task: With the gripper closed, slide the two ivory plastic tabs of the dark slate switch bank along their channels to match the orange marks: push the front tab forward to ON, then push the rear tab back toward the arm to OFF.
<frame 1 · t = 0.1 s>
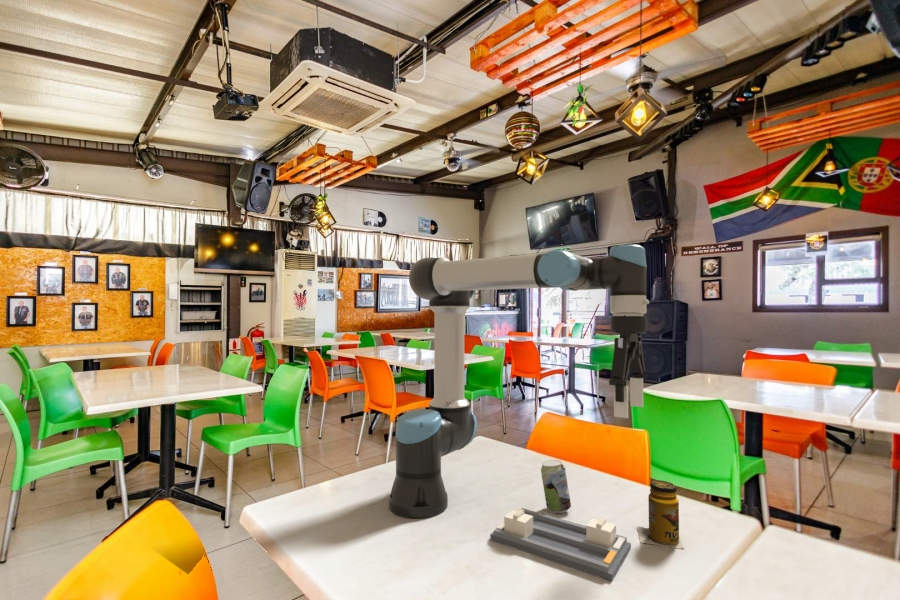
hand: (629, 411, 99), 28 cm above the table, fingers open, 13 cm apart
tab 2: (601, 531, 94), point 4 cm above the table, slide at 8.0 cm
switch bank: (559, 544, 96), on the table
tab 1: (518, 522, 98), point 4 cm above the table, slide at -8.0 cm
beverage can: (555, 510, 113), on the table
condiment: (659, 539, 99), on the table
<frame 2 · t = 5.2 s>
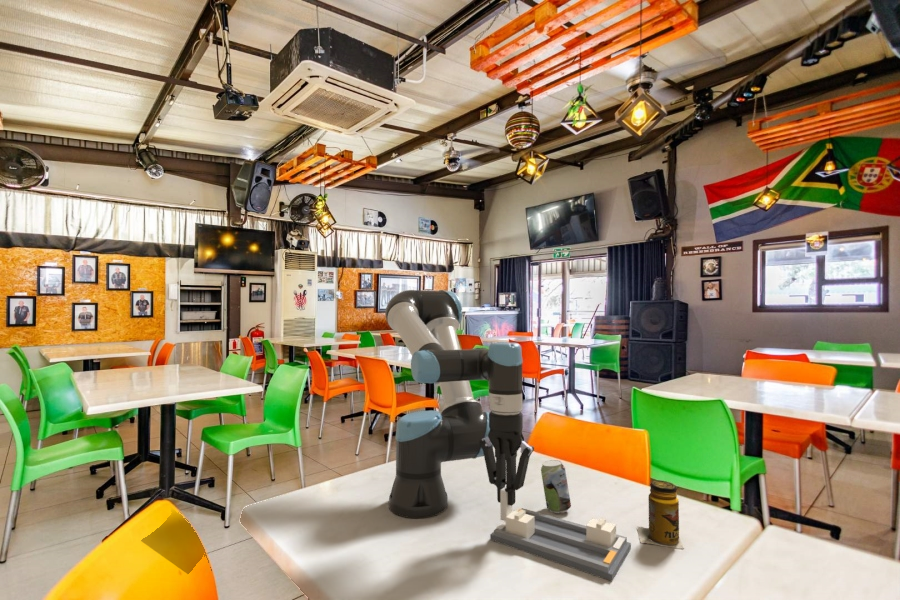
hand: (506, 518, 99), 4 cm above the table, fingers closed
tab 1: (520, 523, 98), point 4 cm above the table, slide at -7.7 cm, touching gripper
everything else where it was.
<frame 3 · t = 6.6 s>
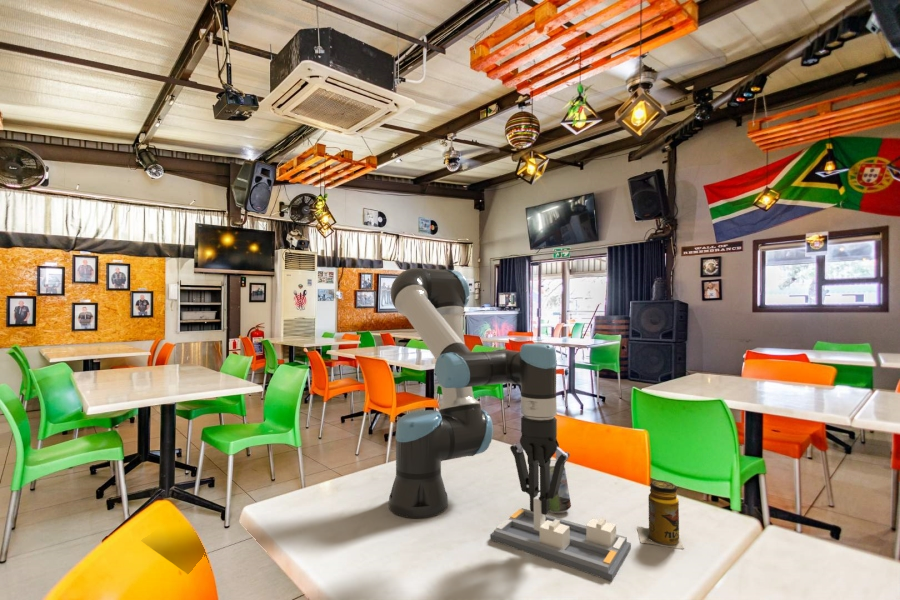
hand: (539, 527, 95), 4 cm above the table, fingers closed
tab 1: (554, 533, 93), point 4 cm above the table, slide at 0.3 cm, touching gripper
everything else where it was.
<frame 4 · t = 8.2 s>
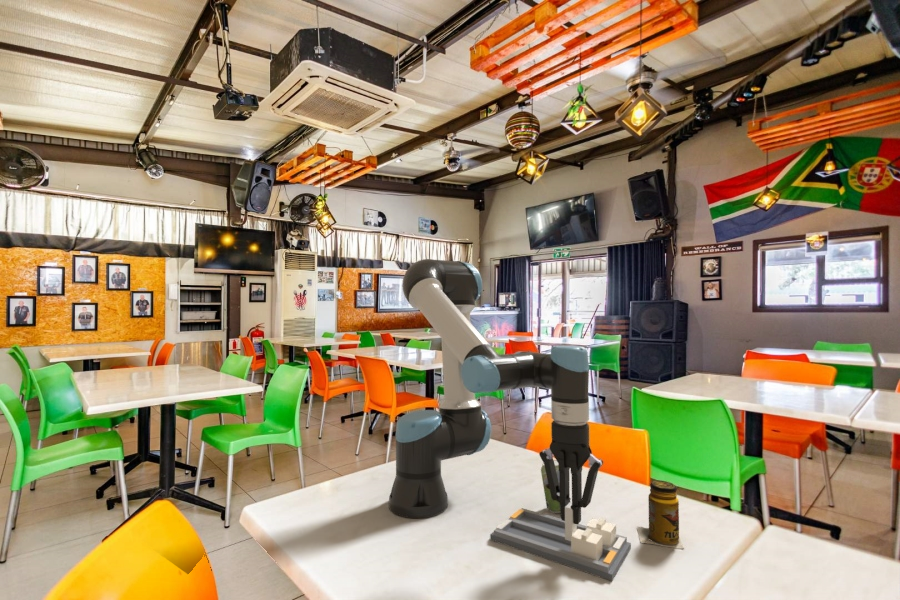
hand: (571, 537, 91), 4 cm above the table, fingers closed
tab 1: (586, 543, 89), point 4 cm above the table, slide at 7.0 cm, touching gripper
everything else where it was.
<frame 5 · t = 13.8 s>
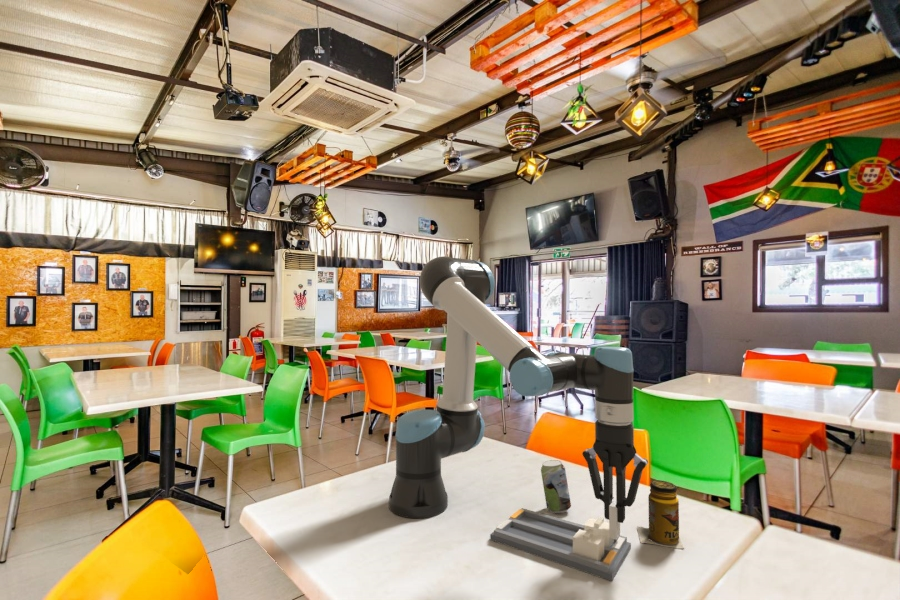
hand: (614, 535, 92), 4 cm above the table, fingers closed
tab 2: (599, 531, 94), point 4 cm above the table, slide at 7.5 cm, touching gripper
tab 1: (588, 543, 89), point 4 cm above the table, slide at 7.4 cm
everything else where it was.
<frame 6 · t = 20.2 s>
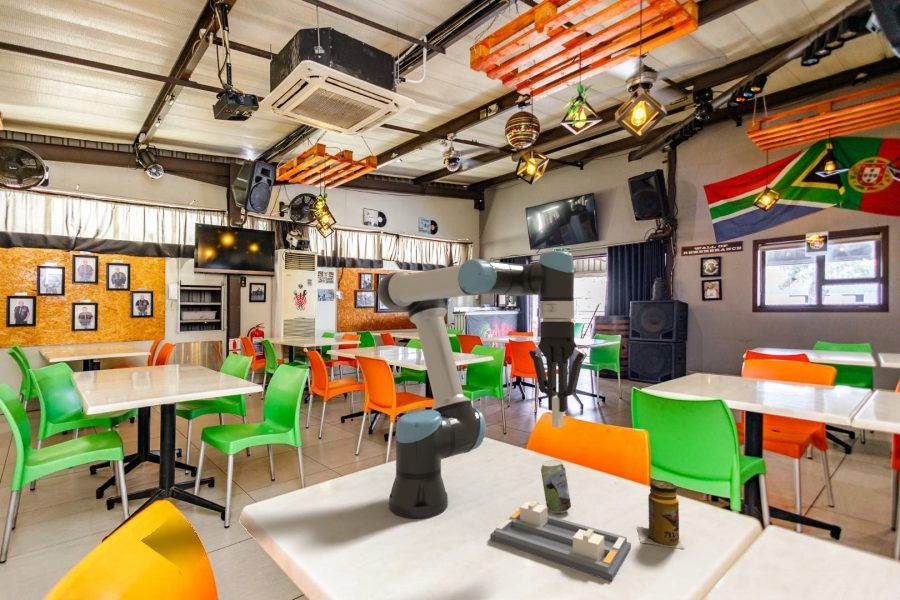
hand: (557, 425, 100), 24 cm above the table, fingers closed
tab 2: (533, 512, 103), point 4 cm above the table, slide at -7.4 cm
everything else where it was.
at the end: tab 1 slide at 7.4 cm; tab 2 slide at -7.4 cm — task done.
